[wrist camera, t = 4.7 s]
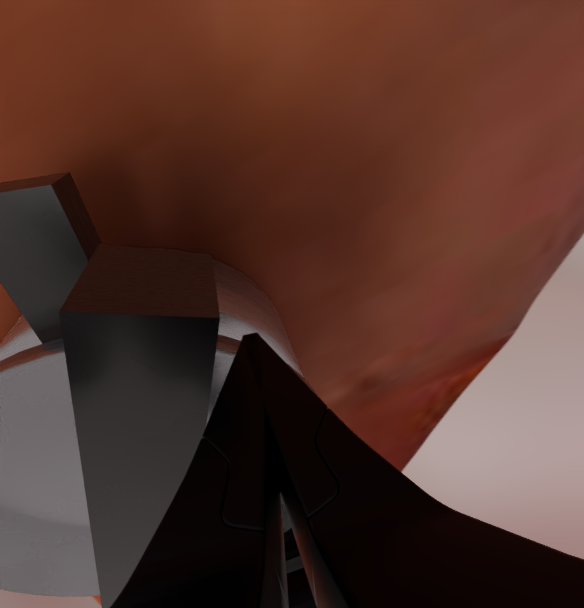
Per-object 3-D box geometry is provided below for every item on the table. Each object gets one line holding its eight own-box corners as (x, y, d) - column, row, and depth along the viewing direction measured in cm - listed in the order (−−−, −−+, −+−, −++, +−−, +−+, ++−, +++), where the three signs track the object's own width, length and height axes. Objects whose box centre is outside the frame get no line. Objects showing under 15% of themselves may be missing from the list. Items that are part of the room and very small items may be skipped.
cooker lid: (289, 538, 21) (309, 626, 17) (-25, 593, 16) (-84, 732, 12) (399, 259, 12) (485, 328, 8) (-246, 186, 7) (-682, 282, 3)
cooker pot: (296, 410, 26) (326, 500, 20) (90, 467, 24) (58, 587, 18) (253, 125, 15) (291, 147, 9) (-133, 182, 13) (-393, 256, 7)
